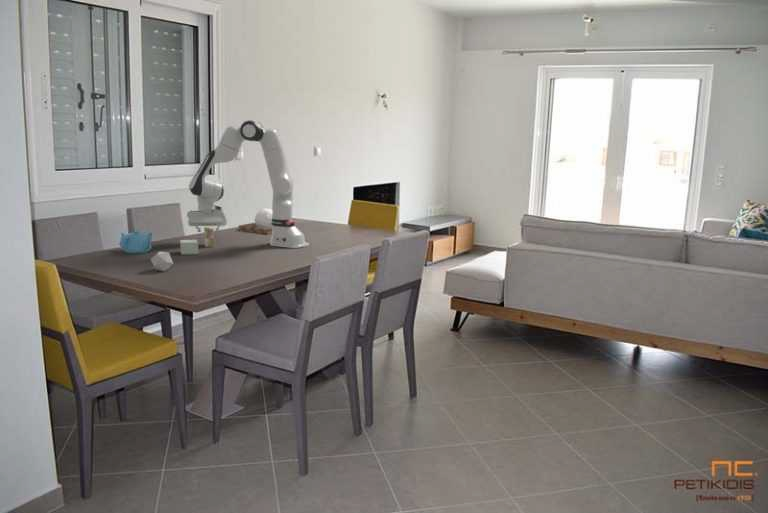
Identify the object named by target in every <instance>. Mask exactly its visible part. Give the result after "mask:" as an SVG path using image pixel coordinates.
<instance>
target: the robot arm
mask: <svg viewBox="0 0 768 513" xmlns="http://www.w3.org/2000/svg"><path fill="white" fill-rule="evenodd" d="M219 140H220V141H219V144H218V145H217V146H216V147H215V148H214V149H213V150H209V152H207V153H208V154H206V156H205V158H204V160H203V161H202V163H201V165H200V166H199V168H198V170H197V172H196V173H195V174H194V176H193V178H192V179H191V180H190V183H189V185H188V188H189V191H190V193H191V194H192V195H193V196H197V198H196V200H197V210H189V211H187V213H186V216H187V219H188V221H187V222H188V223H187V224H188V227H189V226H190V227H195V229H196V230H197V232H198V233H201V230H202V229H201V227H215V232H216V233H219V231H220V228H221V227H225V226H226V225H227V222H228V221H227V215H226V213H225V212H224V208H223V206H219V205H216V204H215V203H217V202H218V201H220V200H221V199H222V198H223V196H224V194H225V193H224V192H225V190H224V186H223V184H222V183H220V182H217V181H214V180H211V179H206V176H207V175H208V173H209V172H210V170H211V168H212V167H213V165H215V164H221V163H230V162H232V161H234V160H235V159H236V158H237V157H238V154H239V152H240V149H241V147H242V144H243V142H245V141H249V142H259V143H260V145H261V149H262V152H263V157H264V159H265V163H266V167H267V172H268V177H269V180H270V184H271V188H272V203H271V204H272V205H271V206H272V209H271V210H272V221H271V222H272V233H271V234H270V240H269V244H270V246H271V247H282V248H289V249H290V248H291V249H299V248H304V247H305V248H306V247H308V246H309V245H310V243H309V242H306V241H305V240H306V239H305V235H304V233H303V232H302V231H301V230H300V229H299V228H298V227H296V223H297V220H294V219H293V205H294V204H293V200H294V197H293V196H294V193H293V192H294V180H293V178H292V176H291V174H290V170H289V166H288V160H287V157H286V153H285V150H284V146H283V143H282V140H281V138H280V136H279V133H278V131H277V130H276V129H274V128H266V129H265V128H264V126H263V125H262V123H261V122H259V121H257V120H254V119H249V120H245V121H244V122H243V123H242V124H241V125H240V126H239V127H238V126H236V125H229V126H227V127H226V129H225V130H224V132H223V134H222V136H221V138H220V139H219Z"/></svg>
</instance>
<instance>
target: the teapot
mask: <svg viewBox="0 0 768 513" xmlns="http://www.w3.org/2000/svg"><path fill="white" fill-rule="evenodd" d="M120 235H121V236H120V240H119V246H120V247H121V249H122V251H123V252H125V254H132V253H135V254H136V253H137V254H145V252H146V253H148V252H150V251H151V249H152V244H151V243H152V242H151V241H152V237H153V232H148V233H147V235H146V233H144V232H140V231H139V230H137V229H136V230H135V229H134V230H133V232H130V233H128V234H127V233H126V232H121V233H120ZM135 254H134V255H135Z"/></svg>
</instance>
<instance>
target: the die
mask: <svg viewBox="0 0 768 513" xmlns="http://www.w3.org/2000/svg"><path fill="white" fill-rule="evenodd" d="M150 262H151V263H152V265H153V268H154V270H155V271H160V272H166V271H167V270H168V269H169V268H170V267H171V266H173V265H174V261H173V259H172V257H171V254H170V252H165V251H158V252H157V253H156V254H155V255H154V256H152V257H151V258H150Z"/></svg>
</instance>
